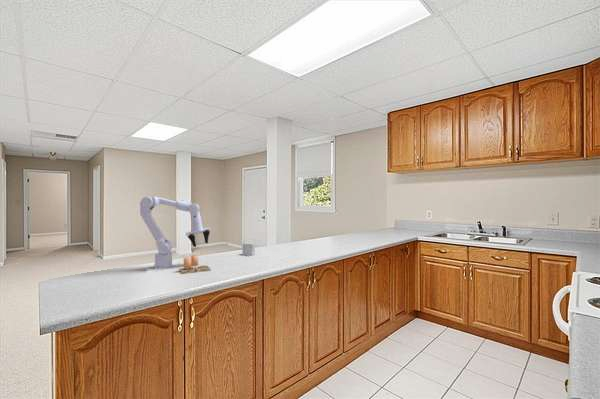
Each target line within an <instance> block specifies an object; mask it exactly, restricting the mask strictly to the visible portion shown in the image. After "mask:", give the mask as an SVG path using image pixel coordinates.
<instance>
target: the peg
mask: <svg viewBox="0 0 600 399" xmlns="http://www.w3.org/2000/svg"><path fill="white" fill-rule="evenodd" d="M191 267H192V266H191V257H184V258H183V268H184V271H185V270H191Z"/></svg>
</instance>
